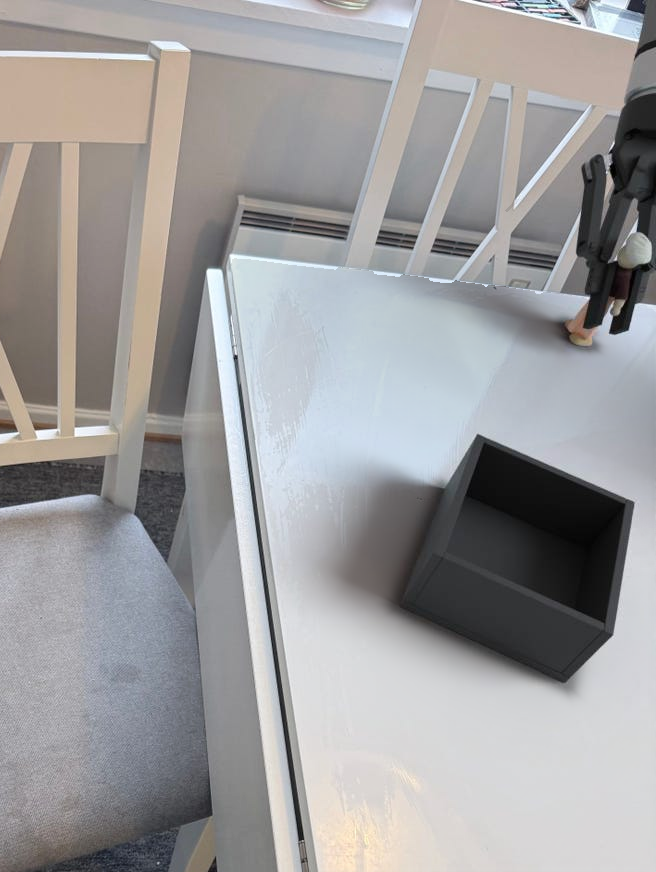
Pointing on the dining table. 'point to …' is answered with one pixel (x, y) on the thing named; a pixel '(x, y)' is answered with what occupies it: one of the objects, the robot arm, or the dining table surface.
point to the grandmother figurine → (614, 285)
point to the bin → (523, 559)
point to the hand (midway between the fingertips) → (605, 328)
